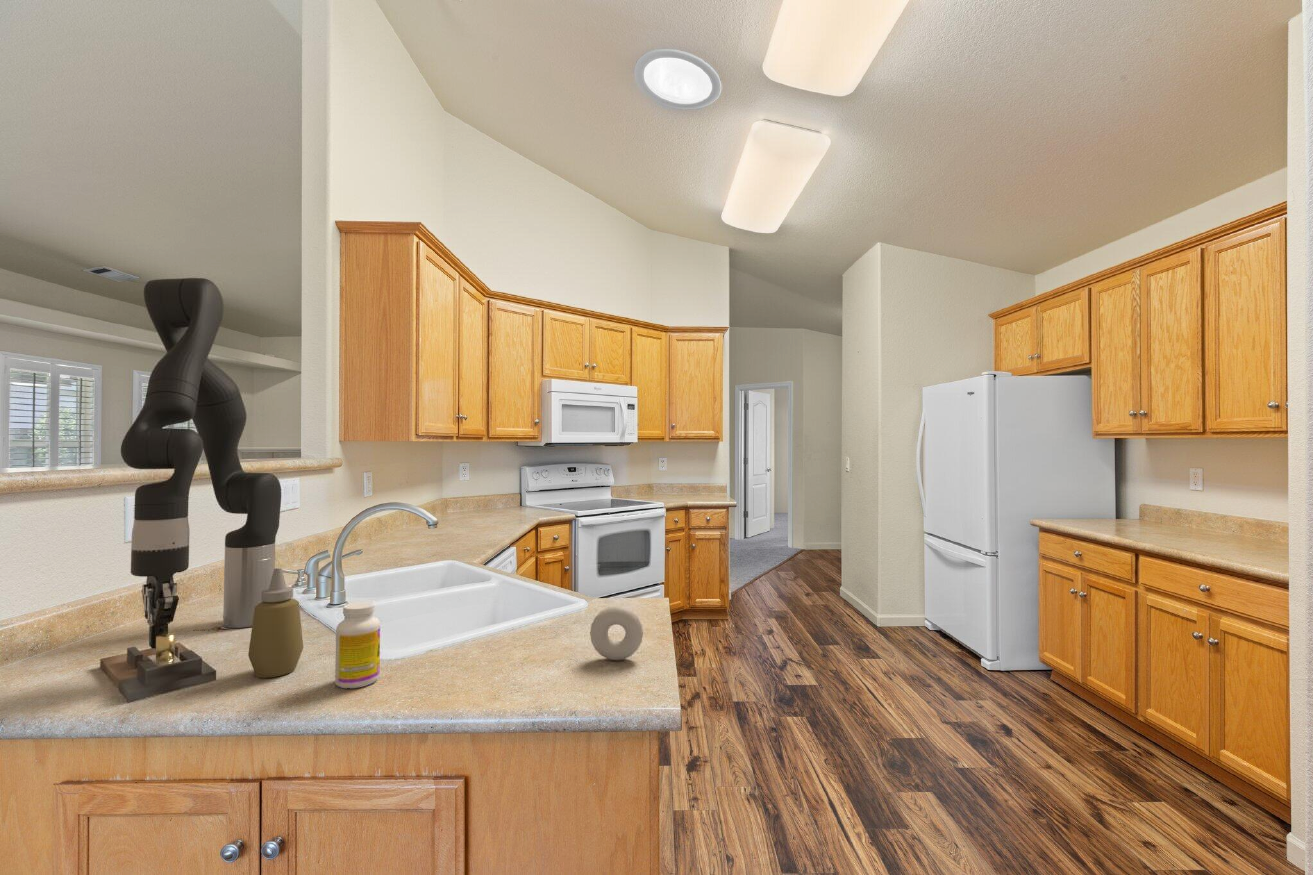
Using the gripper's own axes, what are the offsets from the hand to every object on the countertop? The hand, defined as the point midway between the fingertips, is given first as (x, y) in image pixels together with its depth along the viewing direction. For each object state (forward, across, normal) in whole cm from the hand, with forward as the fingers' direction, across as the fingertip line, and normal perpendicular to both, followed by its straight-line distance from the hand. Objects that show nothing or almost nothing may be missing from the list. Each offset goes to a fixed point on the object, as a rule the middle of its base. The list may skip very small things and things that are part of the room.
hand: (158, 646), depth 98 cm
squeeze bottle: (+5, -13, -13) cm, 19 cm away
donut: (+5, -55, -56) cm, 78 cm away
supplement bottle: (+5, -28, -20) cm, 35 cm away
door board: (+5, +2, 0) cm, 5 cm away
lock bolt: (+3, -3, 0) cm, 5 cm away
